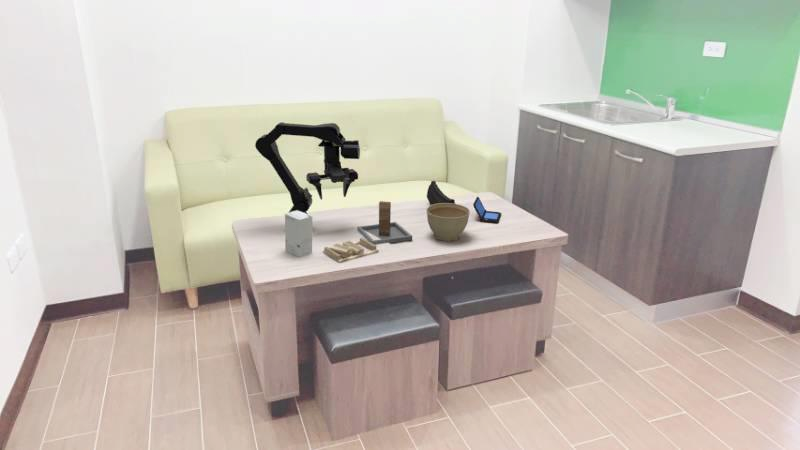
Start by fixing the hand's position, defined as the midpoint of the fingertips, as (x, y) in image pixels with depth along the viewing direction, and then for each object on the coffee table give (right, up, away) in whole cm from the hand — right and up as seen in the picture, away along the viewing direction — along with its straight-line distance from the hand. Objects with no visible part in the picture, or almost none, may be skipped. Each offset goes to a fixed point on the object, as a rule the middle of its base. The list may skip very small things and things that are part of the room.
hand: (332, 198), depth 222 cm
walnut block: (+20, -14, -1) cm, 24 cm away
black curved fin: (+43, -6, +25) cm, 50 cm away
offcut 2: (+5, -21, -19) cm, 29 cm away
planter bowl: (+43, -15, 0) cm, 46 cm away
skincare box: (-10, -21, -18) cm, 29 cm away
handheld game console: (+62, -8, +21) cm, 66 cm away
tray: (+20, -14, -1) cm, 24 cm away
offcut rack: (+8, -21, -17) cm, 28 cm away
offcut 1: (+5, -19, -20) cm, 28 cm away
